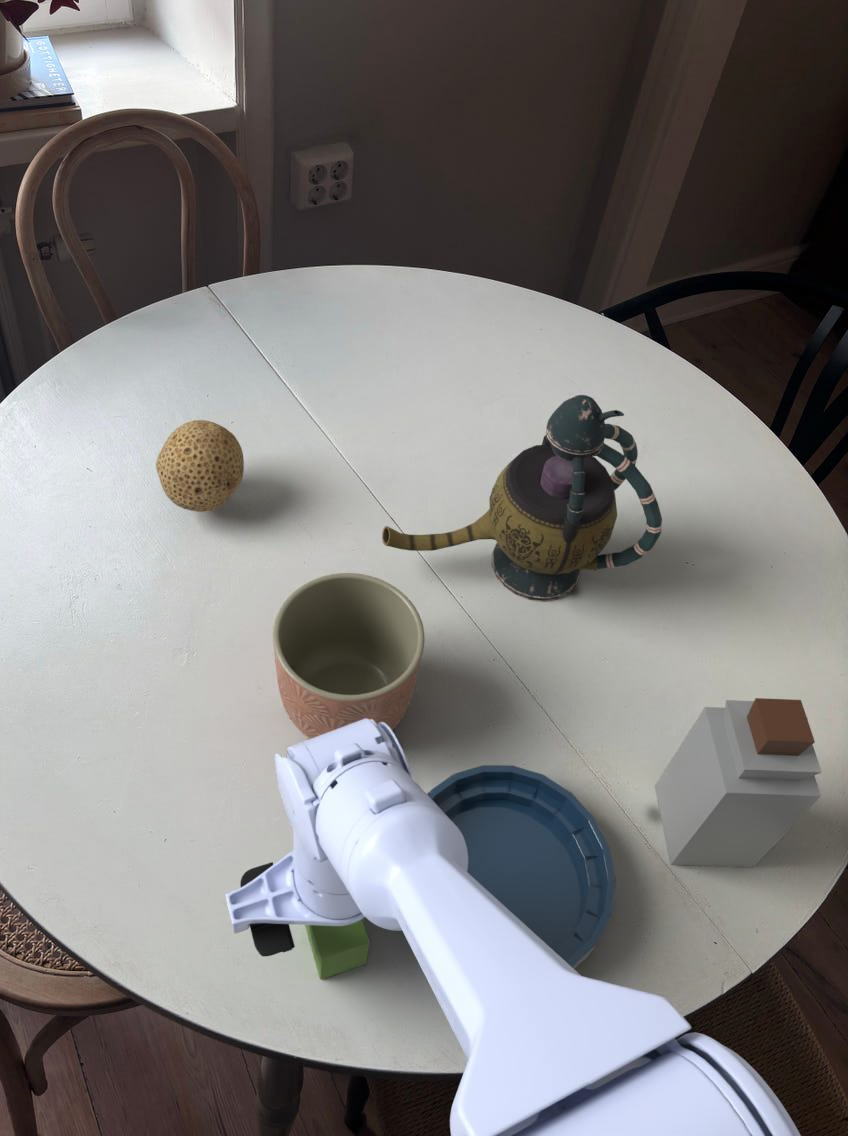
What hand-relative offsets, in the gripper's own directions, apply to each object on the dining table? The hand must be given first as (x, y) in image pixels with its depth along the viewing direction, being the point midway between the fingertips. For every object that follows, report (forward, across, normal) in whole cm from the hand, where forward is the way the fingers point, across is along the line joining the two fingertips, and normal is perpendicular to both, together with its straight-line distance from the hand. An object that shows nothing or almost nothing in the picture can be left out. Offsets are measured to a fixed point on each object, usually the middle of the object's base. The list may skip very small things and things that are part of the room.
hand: (334, 919), depth 68 cm
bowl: (+4, -14, 0) cm, 15 cm away
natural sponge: (+4, 0, -46) cm, 46 cm away
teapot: (+4, -27, -29) cm, 40 cm away
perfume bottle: (+4, -32, +1) cm, 32 cm away
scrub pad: (+4, 0, 0) cm, 4 cm away
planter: (+4, -7, -19) cm, 21 cm away
